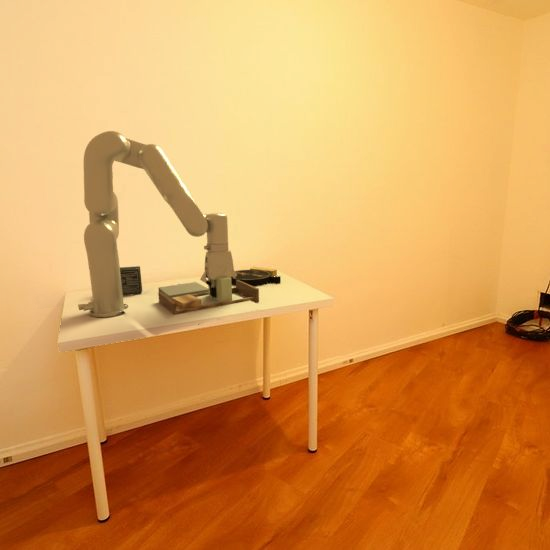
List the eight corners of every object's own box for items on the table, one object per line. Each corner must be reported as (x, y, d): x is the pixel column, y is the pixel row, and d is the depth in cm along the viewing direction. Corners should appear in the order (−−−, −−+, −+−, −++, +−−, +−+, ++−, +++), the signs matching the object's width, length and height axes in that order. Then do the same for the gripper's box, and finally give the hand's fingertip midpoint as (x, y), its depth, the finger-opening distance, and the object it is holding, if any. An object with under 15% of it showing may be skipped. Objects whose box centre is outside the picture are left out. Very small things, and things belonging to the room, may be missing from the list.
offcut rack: (174, 318, 126) (173, 303, 125) (159, 305, 140) (158, 292, 139) (258, 301, 143) (258, 288, 142) (238, 291, 157) (238, 279, 156)
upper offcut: (183, 309, 131) (183, 303, 131) (171, 303, 138) (171, 297, 138) (201, 305, 136) (201, 299, 135) (189, 299, 142) (189, 294, 142)
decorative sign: (292, 270, 180) (266, 283, 159) (292, 277, 181) (267, 290, 160) (240, 265, 194) (210, 275, 172) (240, 271, 194) (210, 282, 173)
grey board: (169, 302, 144) (169, 295, 143) (158, 293, 155) (158, 287, 154) (209, 295, 152) (209, 289, 151) (196, 287, 163) (195, 281, 163)
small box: (142, 290, 161) (140, 265, 158) (141, 294, 154) (139, 268, 152) (115, 291, 158) (113, 267, 156) (113, 296, 152) (110, 270, 150)
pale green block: (222, 306, 138) (221, 279, 136) (208, 298, 148) (207, 273, 145) (232, 304, 140) (231, 278, 138) (218, 297, 150) (217, 272, 148)
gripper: (200, 251, 132) (202, 302, 136) (243, 246, 141) (244, 294, 145) (192, 248, 138) (194, 297, 142) (234, 244, 147) (235, 290, 151)
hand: (220, 295), depth 143 cm, fingers open, 4 cm apart
